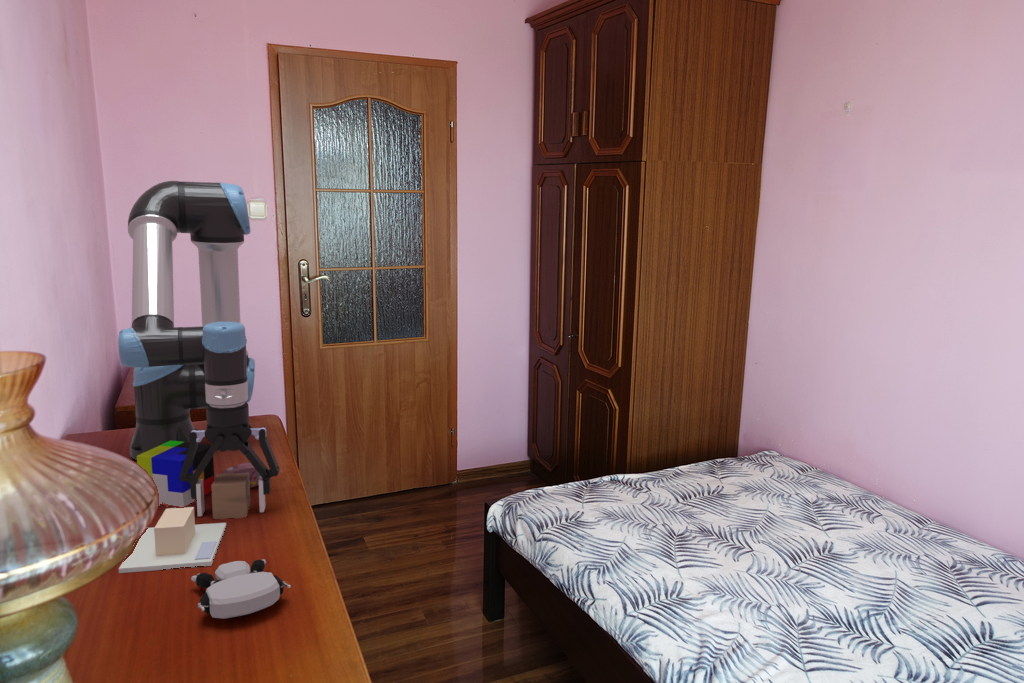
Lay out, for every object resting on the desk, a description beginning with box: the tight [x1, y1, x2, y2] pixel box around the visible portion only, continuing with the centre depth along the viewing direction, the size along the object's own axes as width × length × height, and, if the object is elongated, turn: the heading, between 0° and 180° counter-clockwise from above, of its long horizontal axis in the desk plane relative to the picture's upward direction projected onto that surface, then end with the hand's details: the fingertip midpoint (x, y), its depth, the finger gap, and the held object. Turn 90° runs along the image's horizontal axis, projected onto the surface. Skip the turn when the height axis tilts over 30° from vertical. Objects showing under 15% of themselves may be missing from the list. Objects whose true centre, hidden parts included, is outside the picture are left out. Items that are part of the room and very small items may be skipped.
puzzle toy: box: [136, 441, 215, 507], centre depth 142 cm, size 10×10×10 cm
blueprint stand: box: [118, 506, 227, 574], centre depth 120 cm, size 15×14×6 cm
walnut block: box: [211, 473, 251, 520], centre depth 135 cm, size 6×6×7 cm
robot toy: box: [190, 559, 291, 620], centre depth 105 cm, size 12×4×15 cm
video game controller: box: [221, 462, 260, 488], centre depth 147 cm, size 10×5×7 cm, turn 123°
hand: (232, 511), depth 136 cm, fingers open, 11 cm apart
